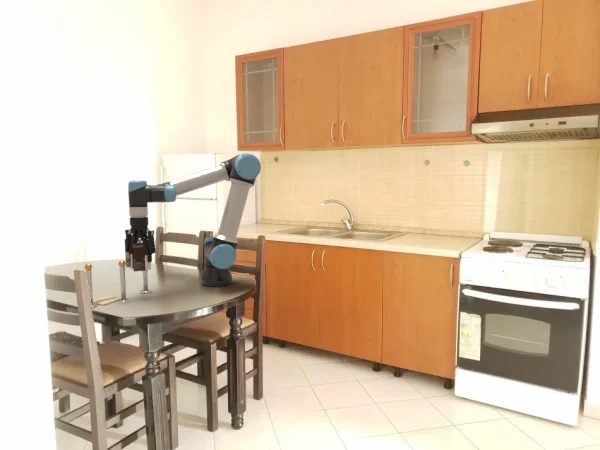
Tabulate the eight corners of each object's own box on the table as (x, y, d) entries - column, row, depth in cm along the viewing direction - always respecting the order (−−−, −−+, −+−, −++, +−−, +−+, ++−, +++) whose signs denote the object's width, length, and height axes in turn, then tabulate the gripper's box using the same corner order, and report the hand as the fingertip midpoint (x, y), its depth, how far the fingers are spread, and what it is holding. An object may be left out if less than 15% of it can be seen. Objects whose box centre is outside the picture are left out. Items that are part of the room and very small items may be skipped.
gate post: (153, 291, 201) (152, 253, 199) (146, 293, 196) (145, 255, 195) (145, 290, 203) (143, 252, 201) (137, 292, 198) (135, 254, 196)
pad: (122, 299, 188) (122, 297, 188) (104, 305, 179) (104, 304, 179) (106, 297, 191) (106, 295, 191) (88, 303, 182) (87, 302, 182)
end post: (100, 305, 179) (97, 263, 177) (90, 309, 174) (87, 265, 172) (90, 304, 181) (88, 262, 179) (80, 307, 176) (78, 264, 174)
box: (133, 271, 187) (131, 244, 186) (134, 269, 192) (133, 242, 191) (148, 270, 189) (146, 243, 188) (149, 268, 193) (147, 242, 192)
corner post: (132, 300, 188) (130, 259, 186) (124, 303, 184) (122, 262, 182) (123, 299, 190) (121, 259, 188) (114, 302, 185) (112, 261, 183)
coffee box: (125, 265, 258) (123, 239, 256) (135, 264, 263) (134, 237, 261) (132, 267, 252) (131, 240, 250) (143, 266, 257) (142, 239, 255)
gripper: (163, 216, 188) (165, 268, 190) (126, 215, 195) (128, 265, 197) (152, 218, 181) (154, 272, 183) (114, 216, 188) (116, 268, 190)
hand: (141, 268), depth 190 cm, fingers closed on box, 7 cm apart
